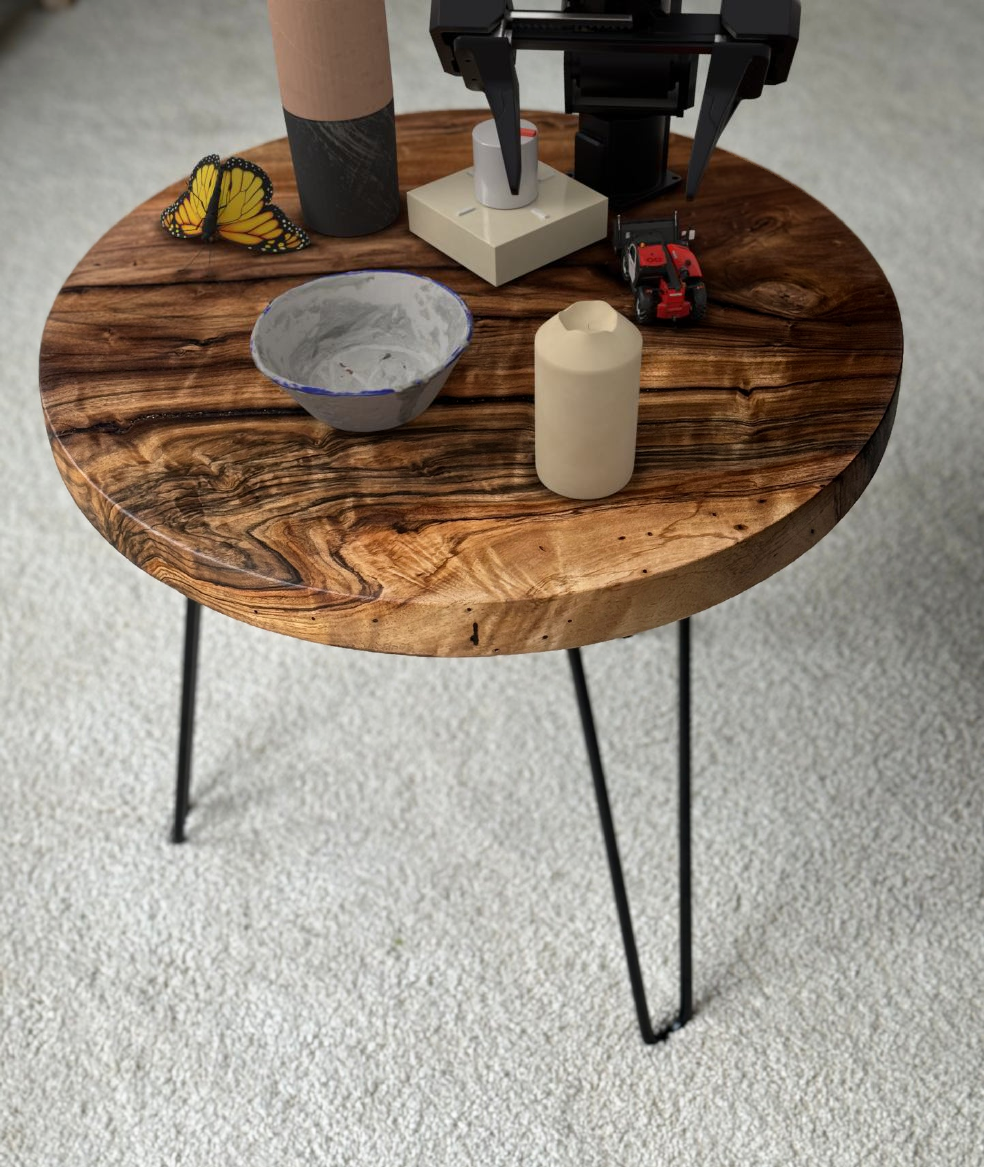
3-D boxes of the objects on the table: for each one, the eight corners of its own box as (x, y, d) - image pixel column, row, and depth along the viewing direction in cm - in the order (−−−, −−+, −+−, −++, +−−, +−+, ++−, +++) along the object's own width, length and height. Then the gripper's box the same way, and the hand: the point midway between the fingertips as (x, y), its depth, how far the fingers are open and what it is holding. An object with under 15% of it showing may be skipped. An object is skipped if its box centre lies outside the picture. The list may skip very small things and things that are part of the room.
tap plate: (517, 186, 93) (516, 145, 90) (607, 237, 87) (608, 195, 85) (409, 230, 88) (405, 189, 86) (496, 287, 83) (494, 245, 80)
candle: (627, 506, 67) (637, 351, 60) (527, 495, 68) (525, 340, 61) (639, 443, 71) (650, 290, 63) (544, 433, 71) (544, 281, 64)
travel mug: (414, 191, 92) (391, -102, 78) (388, 243, 87) (358, -62, 73) (316, 184, 94) (276, -106, 79) (285, 235, 88) (236, -66, 74)
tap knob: (465, 203, 85) (461, 136, 81) (488, 175, 87) (486, 108, 84) (524, 214, 83) (524, 146, 80) (547, 184, 86) (547, 117, 83)
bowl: (477, 328, 79) (474, 261, 76) (475, 456, 70) (472, 387, 67) (276, 333, 79) (264, 267, 76) (249, 461, 70) (234, 393, 67)
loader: (609, 243, 86) (611, 180, 83) (674, 239, 86) (679, 175, 83) (639, 340, 78) (644, 274, 74) (711, 335, 78) (719, 268, 75)
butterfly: (266, 285, 82) (295, 305, 87) (295, 156, 82) (322, 184, 87) (110, 258, 85) (146, 278, 90) (138, 133, 85) (173, 161, 90)
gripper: (422, -198, 58) (397, 134, 58) (828, -197, 56) (802, 148, 56) (456, -72, 69) (435, 207, 69) (797, -67, 67) (774, 221, 67)
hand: (601, 196), depth 65 cm, fingers open, 9 cm apart
